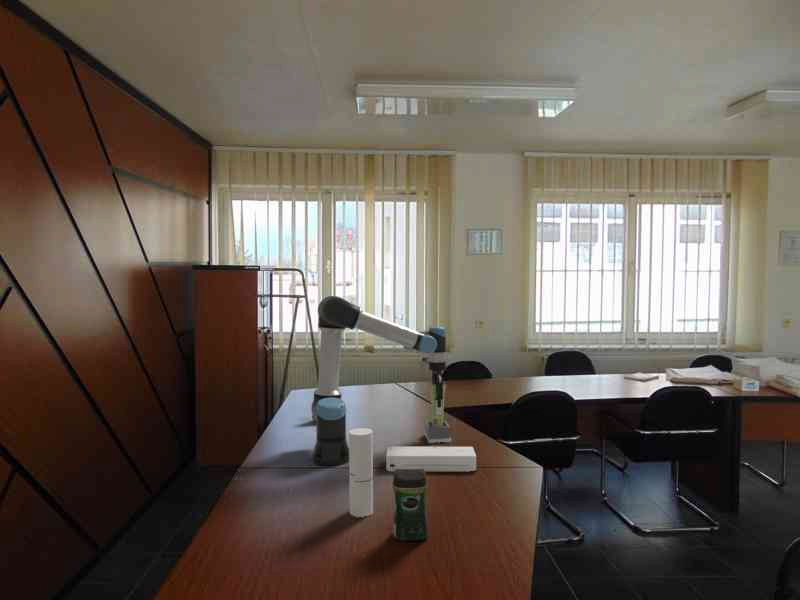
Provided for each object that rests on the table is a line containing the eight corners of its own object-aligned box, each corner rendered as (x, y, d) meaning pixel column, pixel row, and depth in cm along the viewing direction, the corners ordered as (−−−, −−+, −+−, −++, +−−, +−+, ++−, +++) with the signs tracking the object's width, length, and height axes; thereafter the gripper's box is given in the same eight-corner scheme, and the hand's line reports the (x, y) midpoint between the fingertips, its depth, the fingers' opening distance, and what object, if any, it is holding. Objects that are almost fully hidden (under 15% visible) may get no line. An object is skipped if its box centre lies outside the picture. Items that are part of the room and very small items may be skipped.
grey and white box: (451, 442, 223) (451, 427, 223) (428, 443, 222) (428, 428, 221) (445, 434, 235) (445, 420, 234) (424, 434, 234) (424, 420, 233)
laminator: (473, 461, 200) (473, 446, 199) (477, 473, 187) (477, 457, 187) (386, 461, 200) (386, 446, 200) (385, 473, 188) (385, 456, 188)
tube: (437, 424, 232) (437, 382, 231) (446, 427, 228) (446, 384, 228) (429, 427, 228) (429, 384, 227) (438, 429, 224) (438, 386, 224)
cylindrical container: (360, 504, 160) (360, 426, 160) (377, 511, 156) (377, 431, 155) (344, 512, 155) (344, 432, 154) (361, 519, 150) (361, 436, 150)
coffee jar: (426, 528, 145) (426, 464, 144) (428, 542, 137) (428, 475, 136) (393, 528, 145) (392, 464, 144) (392, 542, 137) (392, 475, 136)
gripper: (449, 364, 219) (450, 417, 219) (441, 358, 236) (442, 407, 237) (432, 364, 218) (432, 418, 219) (425, 358, 235) (426, 408, 236)
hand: (437, 412), depth 228 cm, fingers closed on tube, 4 cm apart
